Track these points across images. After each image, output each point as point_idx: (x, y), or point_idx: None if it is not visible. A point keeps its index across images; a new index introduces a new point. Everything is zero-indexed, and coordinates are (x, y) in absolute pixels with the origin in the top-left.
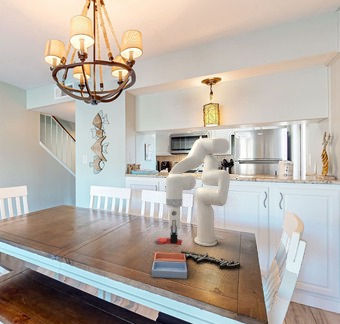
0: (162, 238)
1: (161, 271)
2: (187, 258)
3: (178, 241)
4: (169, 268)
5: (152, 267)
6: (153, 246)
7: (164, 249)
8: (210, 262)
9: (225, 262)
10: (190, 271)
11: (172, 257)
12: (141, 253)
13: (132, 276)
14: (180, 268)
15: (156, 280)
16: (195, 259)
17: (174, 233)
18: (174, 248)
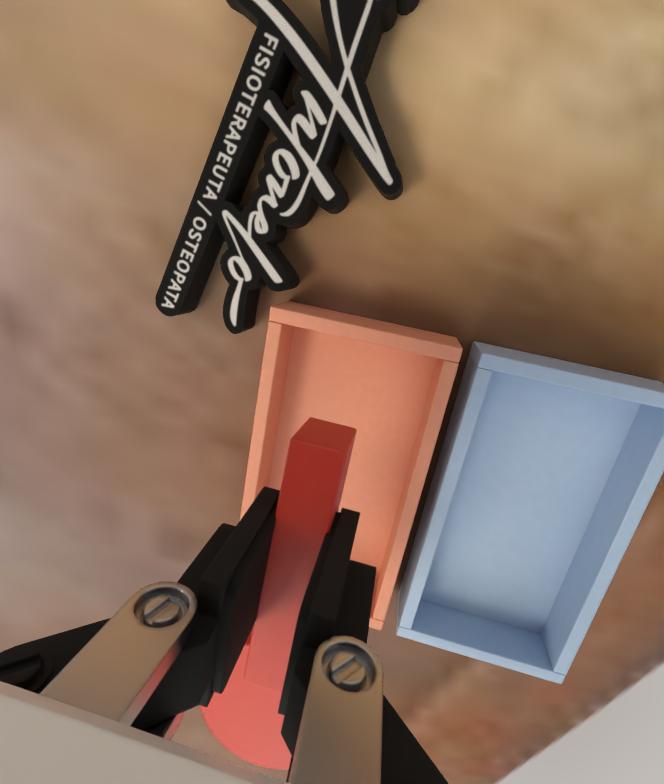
0: (218, 693)
1: (592, 613)
2: (295, 275)
3: (336, 498)
4: (466, 495)
5: (516, 669)
6: (41, 522)
7: (90, 445)
8: (411, 4)
9: None
10: (536, 310)
11: (276, 426)
12: None
13: (508, 742)
14: (486, 400)
15: (607, 618)
16: (344, 193)
17: (414, 773)
18: (61, 347)
